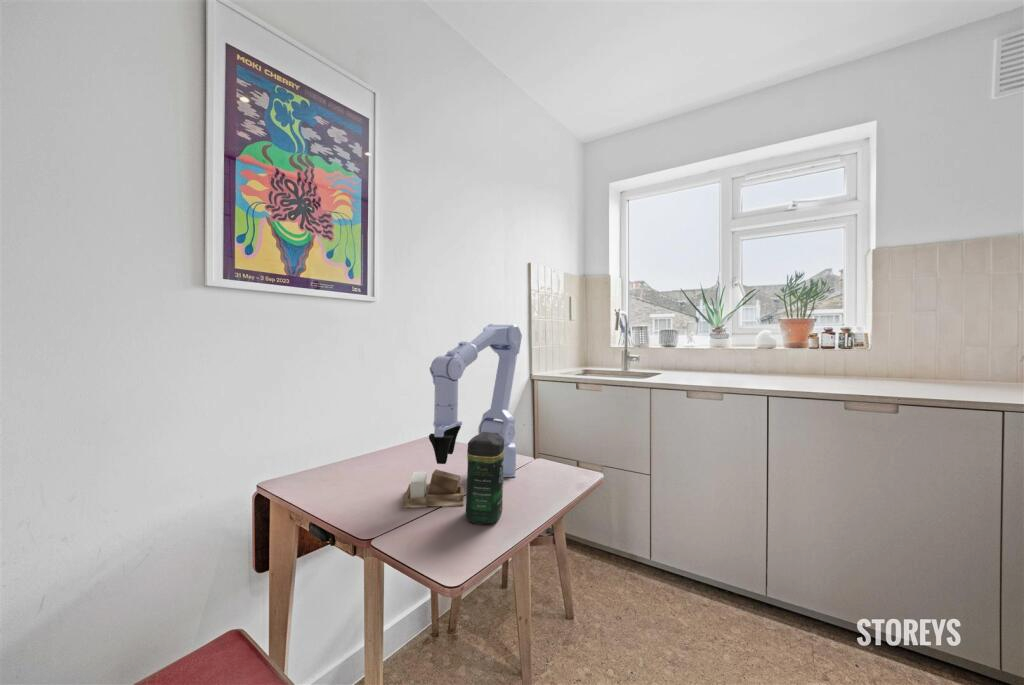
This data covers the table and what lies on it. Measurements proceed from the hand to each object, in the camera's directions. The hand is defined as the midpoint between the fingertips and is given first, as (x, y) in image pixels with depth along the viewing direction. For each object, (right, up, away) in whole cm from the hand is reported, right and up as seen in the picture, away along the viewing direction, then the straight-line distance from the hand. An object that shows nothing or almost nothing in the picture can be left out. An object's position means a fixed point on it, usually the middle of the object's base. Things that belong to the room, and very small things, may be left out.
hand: (445, 458), depth 99 cm
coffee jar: (+11, -11, -9) cm, 17 cm away
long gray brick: (-7, -9, 0) cm, 11 cm away
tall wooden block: (-1, -9, 0) cm, 9 cm away
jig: (-2, -10, 0) cm, 10 cm away
